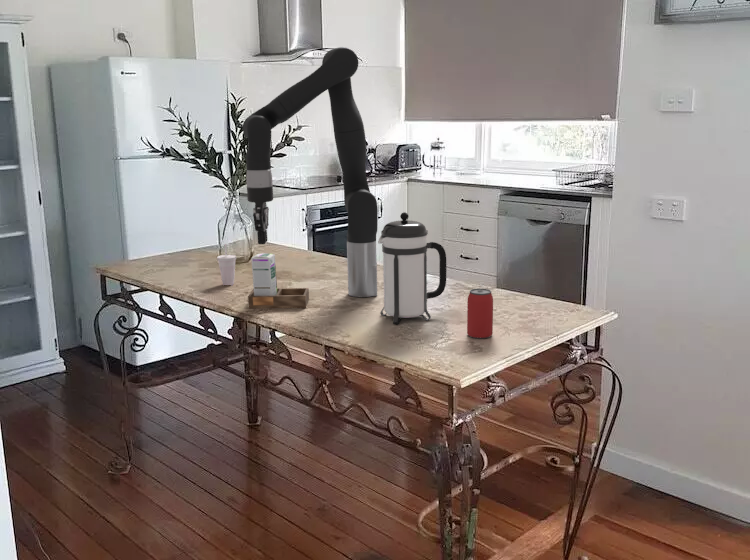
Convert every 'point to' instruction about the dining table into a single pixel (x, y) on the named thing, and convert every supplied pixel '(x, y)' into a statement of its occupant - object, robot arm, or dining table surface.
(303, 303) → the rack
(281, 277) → the dining table surface
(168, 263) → the dining table surface
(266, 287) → the syrup box
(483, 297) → the beer can
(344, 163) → the robot arm
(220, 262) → the smoothie
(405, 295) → the coffee press
